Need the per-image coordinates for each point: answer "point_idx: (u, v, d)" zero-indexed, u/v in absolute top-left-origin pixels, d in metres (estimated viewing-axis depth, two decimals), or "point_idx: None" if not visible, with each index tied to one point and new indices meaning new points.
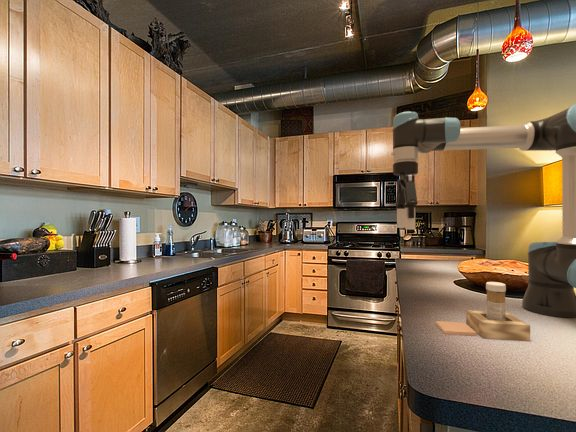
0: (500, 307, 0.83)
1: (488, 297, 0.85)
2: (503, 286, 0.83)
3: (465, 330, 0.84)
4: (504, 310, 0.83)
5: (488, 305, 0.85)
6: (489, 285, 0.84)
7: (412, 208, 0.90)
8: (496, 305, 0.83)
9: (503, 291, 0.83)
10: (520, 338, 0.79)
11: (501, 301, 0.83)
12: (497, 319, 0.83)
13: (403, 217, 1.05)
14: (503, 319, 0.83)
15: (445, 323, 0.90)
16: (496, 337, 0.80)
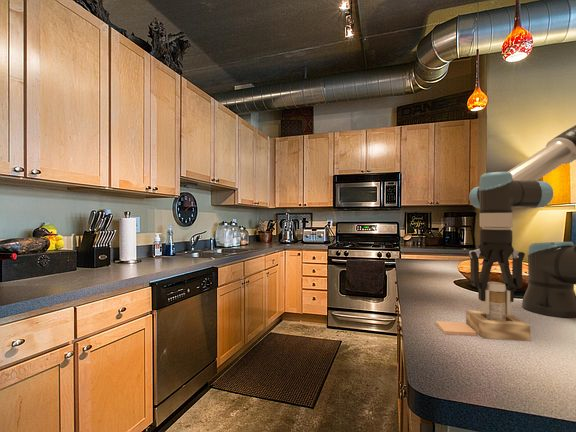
0: (500, 307, 0.83)
1: None
2: (503, 286, 0.83)
3: (465, 330, 0.84)
4: (504, 310, 0.83)
5: None
6: (489, 285, 0.84)
7: (479, 289, 0.85)
8: (496, 305, 0.83)
9: (503, 291, 0.83)
10: (520, 338, 0.79)
11: (500, 301, 0.83)
12: (497, 319, 0.83)
13: (505, 301, 0.84)
14: (503, 319, 0.83)
15: (445, 323, 0.90)
16: (496, 337, 0.80)
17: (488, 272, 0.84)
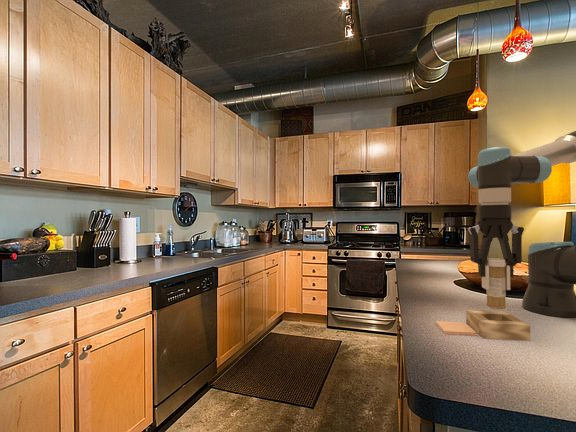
0: (500, 282, 0.83)
1: None
2: (503, 261, 0.83)
3: (465, 330, 0.84)
4: (504, 285, 0.83)
5: None
6: (489, 261, 0.84)
7: (479, 265, 0.85)
8: (496, 280, 0.83)
9: (503, 266, 0.83)
10: (520, 338, 0.79)
11: (500, 276, 0.83)
12: (497, 294, 0.83)
13: (505, 276, 0.84)
14: (503, 294, 0.83)
15: (445, 323, 0.90)
16: (496, 337, 0.80)
17: (488, 248, 0.84)
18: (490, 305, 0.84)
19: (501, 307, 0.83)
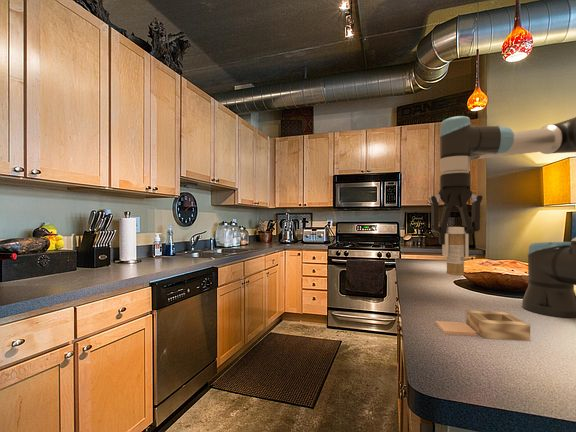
0: (458, 249, 0.84)
1: None
2: (461, 228, 0.85)
3: (465, 330, 0.84)
4: (463, 252, 0.85)
5: None
6: (448, 228, 0.86)
7: (439, 233, 0.87)
8: (455, 247, 0.85)
9: (461, 233, 0.85)
10: (520, 338, 0.79)
11: (459, 243, 0.85)
12: (455, 261, 0.85)
13: (464, 244, 0.86)
14: (461, 261, 0.85)
15: (445, 323, 0.90)
16: (496, 337, 0.80)
17: (447, 216, 0.86)
18: (449, 272, 0.86)
19: (459, 273, 0.85)
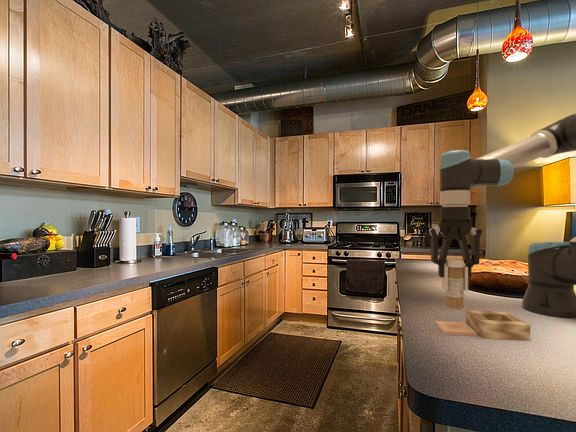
0: (458, 283, 0.85)
1: None
2: (461, 262, 0.85)
3: (465, 330, 0.84)
4: (462, 285, 0.85)
5: None
6: (448, 261, 0.86)
7: (439, 266, 0.87)
8: (454, 280, 0.85)
9: (461, 267, 0.85)
10: (520, 338, 0.79)
11: (458, 277, 0.85)
12: (455, 294, 0.85)
13: (464, 277, 0.86)
14: (461, 294, 0.85)
15: (445, 323, 0.90)
16: (496, 337, 0.80)
17: (447, 249, 0.86)
18: (448, 305, 0.86)
19: (458, 307, 0.85)
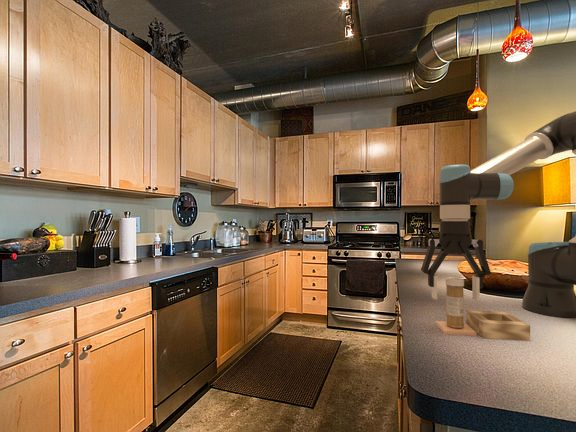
0: (458, 302, 0.85)
1: (447, 292, 0.87)
2: (461, 281, 0.85)
3: (465, 330, 0.84)
4: (462, 304, 0.85)
5: (447, 300, 0.87)
6: (448, 280, 0.87)
7: (428, 275, 0.88)
8: (454, 299, 0.85)
9: (461, 286, 0.85)
10: (520, 338, 0.79)
11: (458, 295, 0.85)
12: (455, 313, 0.85)
13: (475, 287, 0.85)
14: (461, 313, 0.85)
15: (445, 323, 0.90)
16: (496, 337, 0.80)
17: (441, 261, 0.86)
18: (449, 324, 0.86)
19: (459, 326, 0.85)
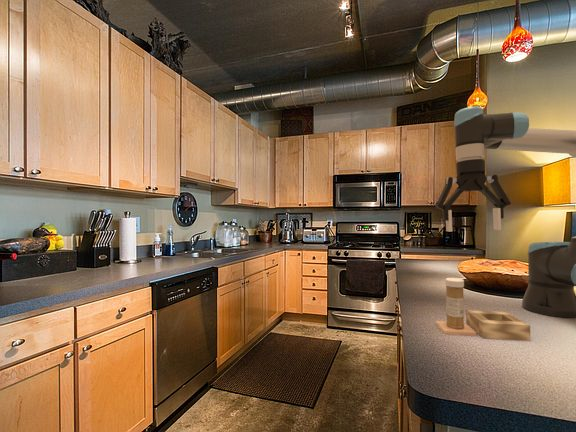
0: (458, 303, 0.84)
1: (447, 293, 0.87)
2: (461, 282, 0.84)
3: (465, 330, 0.84)
4: (462, 305, 0.85)
5: (447, 300, 0.87)
6: (448, 281, 0.86)
7: (443, 210, 0.94)
8: (454, 300, 0.85)
9: (461, 287, 0.84)
10: (520, 338, 0.79)
11: (458, 296, 0.85)
12: (455, 314, 0.85)
13: (496, 218, 0.91)
14: (461, 314, 0.85)
15: (445, 323, 0.90)
16: (496, 337, 0.80)
17: (456, 196, 0.92)
18: (449, 324, 0.86)
19: (459, 327, 0.85)
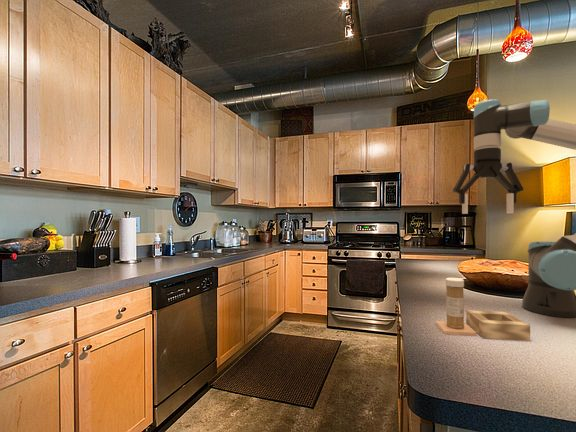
0: (458, 302, 0.85)
1: (447, 292, 0.87)
2: (461, 281, 0.85)
3: (465, 330, 0.84)
4: (462, 305, 0.85)
5: (447, 300, 0.87)
6: (448, 280, 0.86)
7: (460, 194, 1.02)
8: (454, 300, 0.85)
9: (461, 286, 0.85)
10: (520, 338, 0.79)
11: (458, 296, 0.85)
12: (455, 314, 0.85)
13: (509, 202, 1.00)
14: (461, 314, 0.85)
15: (445, 323, 0.90)
16: (496, 337, 0.80)
17: (472, 182, 1.01)
18: (449, 324, 0.86)
19: (459, 326, 0.85)
